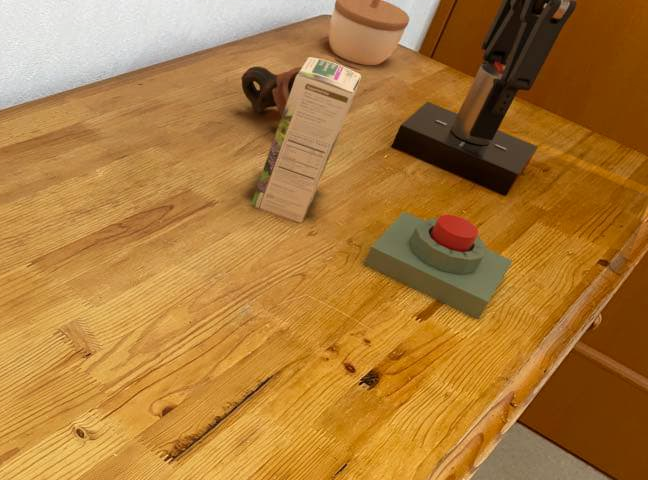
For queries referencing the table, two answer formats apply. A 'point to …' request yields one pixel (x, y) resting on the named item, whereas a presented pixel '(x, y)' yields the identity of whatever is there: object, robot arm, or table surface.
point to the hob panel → (463, 149)
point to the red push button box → (438, 265)
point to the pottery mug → (268, 88)
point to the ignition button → (454, 233)
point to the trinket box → (366, 30)
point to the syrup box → (305, 138)
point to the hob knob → (476, 102)
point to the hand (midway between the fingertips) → (475, 126)
